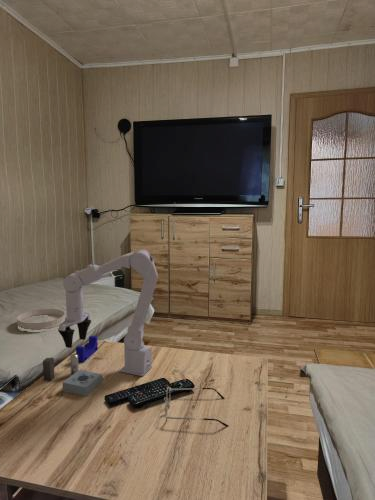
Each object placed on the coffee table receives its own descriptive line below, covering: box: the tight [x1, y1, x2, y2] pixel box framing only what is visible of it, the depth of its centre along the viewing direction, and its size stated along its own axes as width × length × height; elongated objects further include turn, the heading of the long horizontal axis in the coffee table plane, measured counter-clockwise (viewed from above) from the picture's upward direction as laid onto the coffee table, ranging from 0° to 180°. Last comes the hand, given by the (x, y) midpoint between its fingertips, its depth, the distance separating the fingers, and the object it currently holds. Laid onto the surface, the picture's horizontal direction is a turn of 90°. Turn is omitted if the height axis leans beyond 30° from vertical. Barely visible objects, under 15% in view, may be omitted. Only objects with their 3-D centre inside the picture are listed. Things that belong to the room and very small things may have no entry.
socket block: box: [62, 369, 103, 397], centre depth 112 cm, size 9×9×3 cm
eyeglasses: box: [163, 386, 229, 427], centre depth 100 cm, size 16×19×5 cm
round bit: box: [69, 353, 79, 376], centre depth 120 cm, size 3×3×7 cm
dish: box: [16, 308, 66, 330], centre depth 168 cm, size 22×22×5 cm
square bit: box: [42, 357, 55, 382], centre depth 116 cm, size 3×3×7 cm
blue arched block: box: [75, 335, 99, 363], centre depth 135 cm, size 12×4×6 cm, turn 169°
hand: (75, 343), depth 123 cm, fingers open, 7 cm apart
